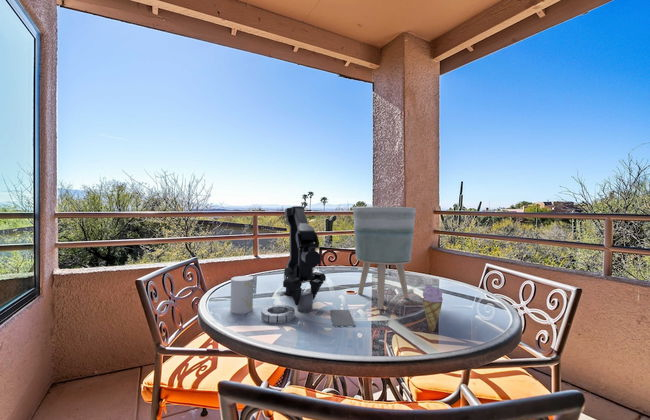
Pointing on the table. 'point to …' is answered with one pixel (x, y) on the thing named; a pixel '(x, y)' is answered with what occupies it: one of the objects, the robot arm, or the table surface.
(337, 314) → the smartphone
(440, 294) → the ice cream cone
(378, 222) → the planter
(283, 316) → the segmented grey ring
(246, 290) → the grey cylinder
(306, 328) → the table surface
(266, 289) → the table surface
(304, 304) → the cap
